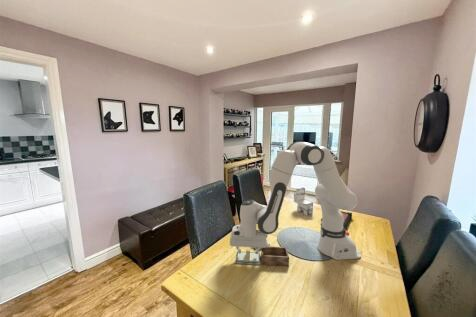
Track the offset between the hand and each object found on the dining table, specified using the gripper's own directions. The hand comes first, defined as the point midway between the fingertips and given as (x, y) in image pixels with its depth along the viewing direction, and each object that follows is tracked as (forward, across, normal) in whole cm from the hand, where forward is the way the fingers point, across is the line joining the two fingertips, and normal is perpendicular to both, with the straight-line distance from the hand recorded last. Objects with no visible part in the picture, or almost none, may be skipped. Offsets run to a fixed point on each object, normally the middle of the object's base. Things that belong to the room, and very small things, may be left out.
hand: (248, 253), depth 108 cm
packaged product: (+4, -4, -17) cm, 18 cm away
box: (+3, -14, 0) cm, 15 cm away
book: (+4, -67, -50) cm, 83 cm away
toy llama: (+3, -46, -65) cm, 79 cm away
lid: (+3, 0, 0) cm, 3 cm away
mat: (+3, 0, 0) cm, 3 cm away
